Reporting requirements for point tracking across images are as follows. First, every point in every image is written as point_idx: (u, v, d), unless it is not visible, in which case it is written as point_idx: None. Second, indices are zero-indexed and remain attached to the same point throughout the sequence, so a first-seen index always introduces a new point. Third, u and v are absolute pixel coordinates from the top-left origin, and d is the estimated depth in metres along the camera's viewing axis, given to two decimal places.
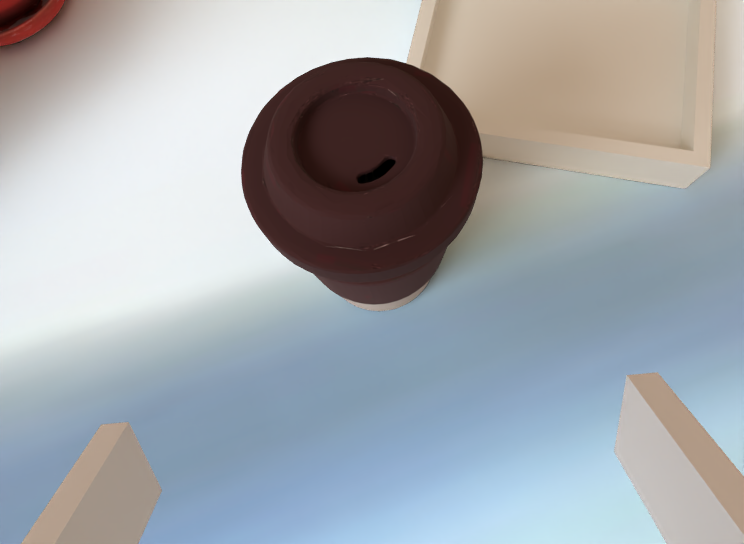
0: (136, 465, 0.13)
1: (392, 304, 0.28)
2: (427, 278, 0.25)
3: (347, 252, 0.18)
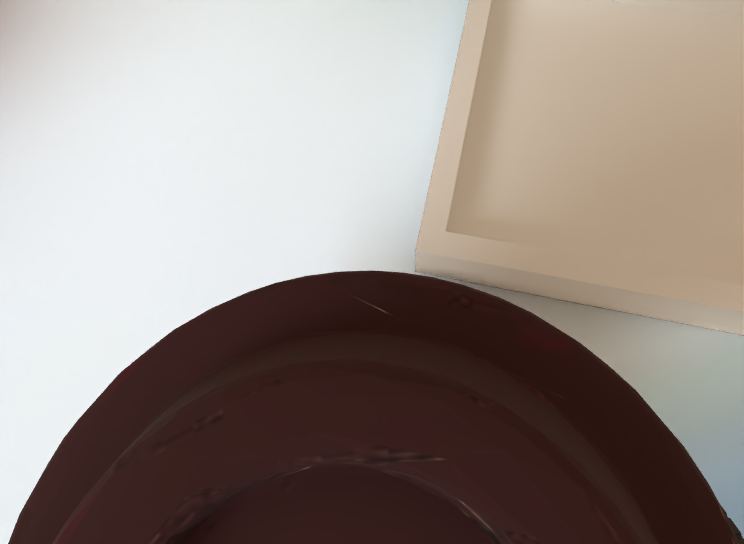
0: None
1: None
2: None
3: None
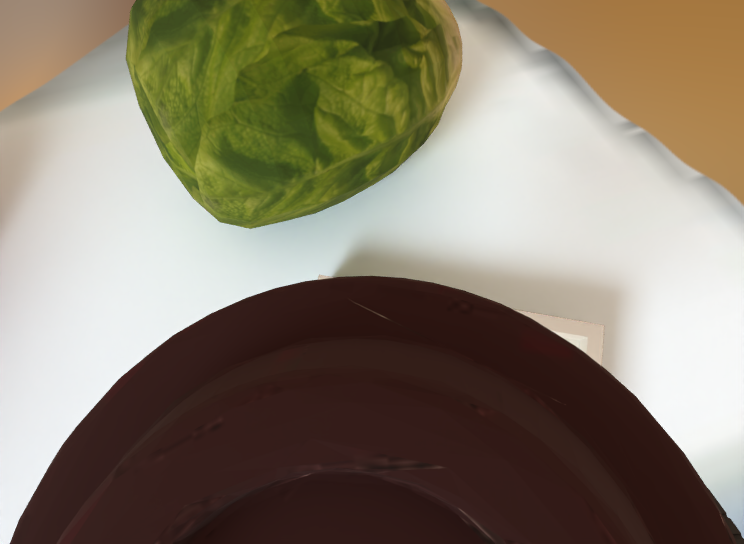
0: None
1: None
2: None
3: None
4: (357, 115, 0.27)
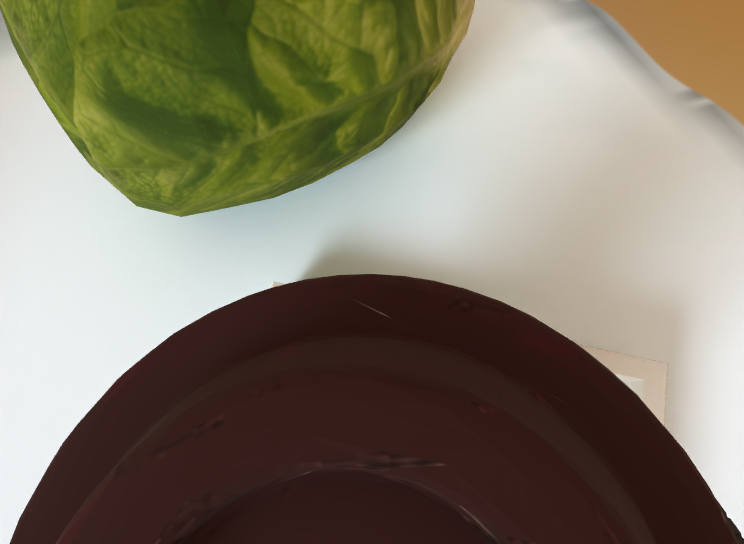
0: None
1: None
2: None
3: None
4: (318, 46, 0.18)
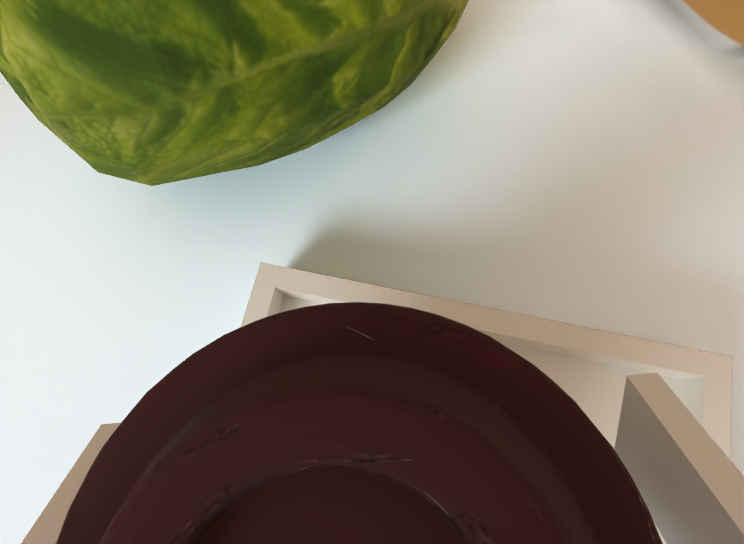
0: None
1: None
2: None
3: None
4: None
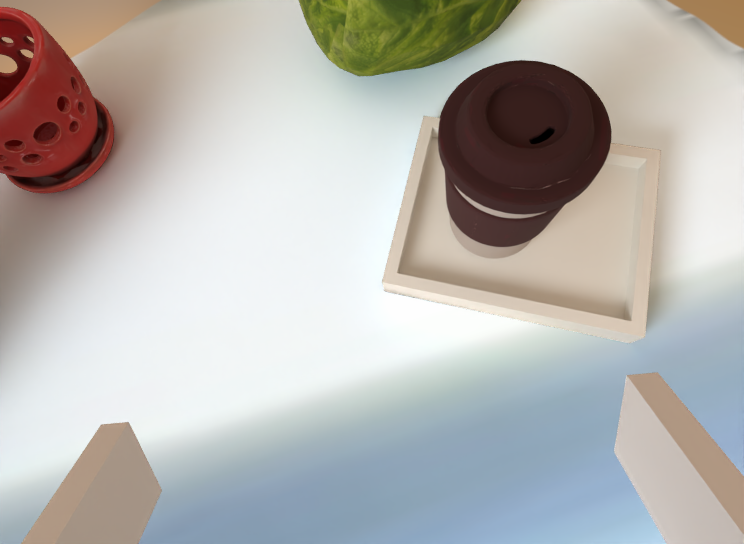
0: (136, 465, 0.13)
1: (511, 250, 0.37)
2: None
3: (523, 191, 0.26)
4: None
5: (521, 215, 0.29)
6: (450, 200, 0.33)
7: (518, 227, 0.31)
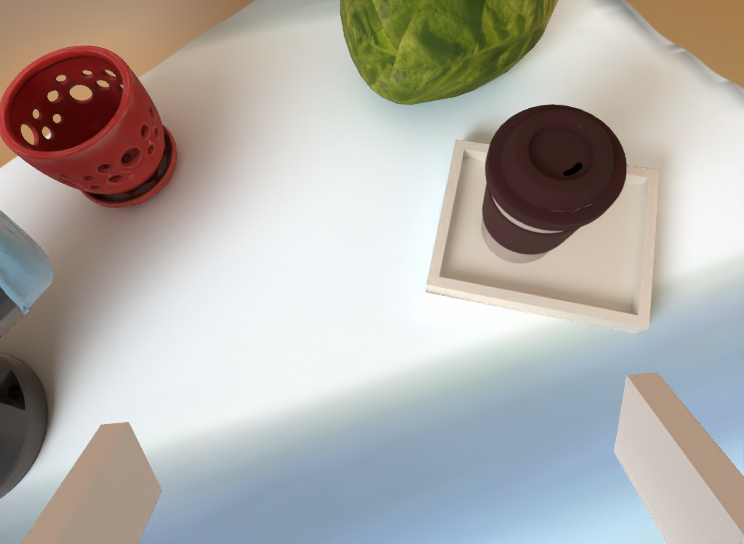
0: (136, 465, 0.13)
1: (536, 256, 0.44)
2: None
3: (558, 213, 0.33)
4: (506, 13, 0.42)
5: (553, 231, 0.36)
6: (489, 216, 0.40)
7: (549, 240, 0.38)
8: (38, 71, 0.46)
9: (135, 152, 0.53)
